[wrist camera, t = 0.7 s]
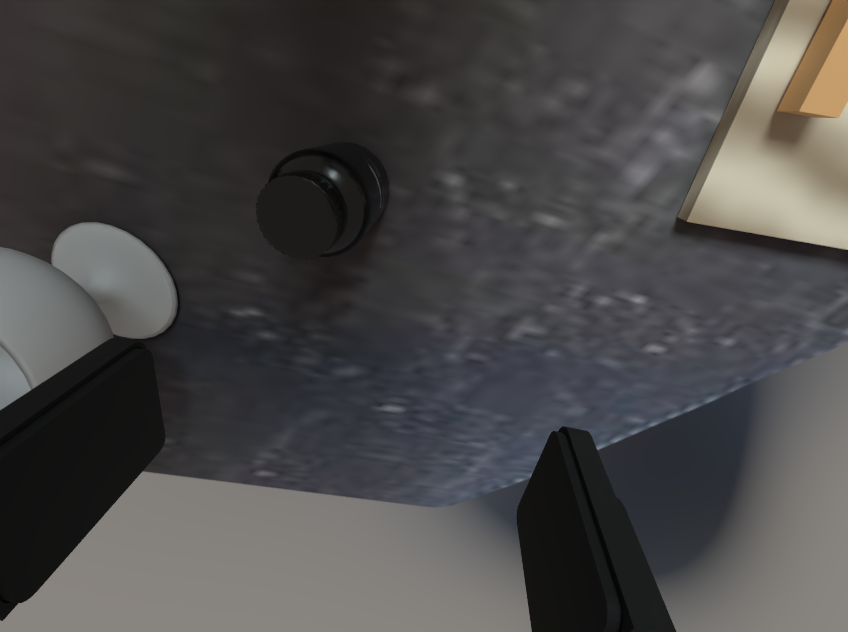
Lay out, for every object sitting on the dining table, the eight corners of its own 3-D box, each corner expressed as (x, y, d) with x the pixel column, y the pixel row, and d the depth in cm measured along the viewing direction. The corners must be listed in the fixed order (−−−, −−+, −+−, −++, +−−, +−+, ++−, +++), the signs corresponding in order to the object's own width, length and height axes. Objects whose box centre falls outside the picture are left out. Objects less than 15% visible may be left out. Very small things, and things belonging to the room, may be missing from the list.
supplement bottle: (408, 184, 33) (382, 220, 22) (356, 242, 35) (311, 300, 25) (341, 120, 31) (279, 125, 20) (292, 186, 33) (215, 222, 23)
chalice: (202, 350, 42) (82, 462, 29) (74, 337, 43) (-101, 441, 29) (171, 217, 36) (0, 282, 22) (21, 204, 36) (-233, 259, 23)
